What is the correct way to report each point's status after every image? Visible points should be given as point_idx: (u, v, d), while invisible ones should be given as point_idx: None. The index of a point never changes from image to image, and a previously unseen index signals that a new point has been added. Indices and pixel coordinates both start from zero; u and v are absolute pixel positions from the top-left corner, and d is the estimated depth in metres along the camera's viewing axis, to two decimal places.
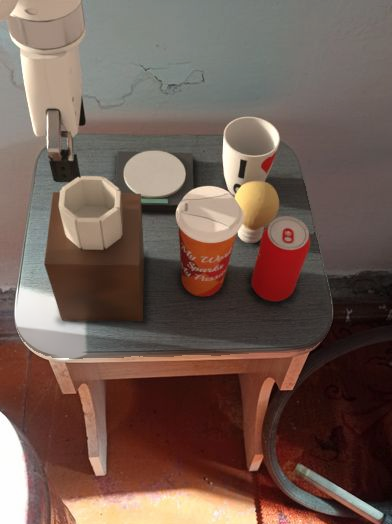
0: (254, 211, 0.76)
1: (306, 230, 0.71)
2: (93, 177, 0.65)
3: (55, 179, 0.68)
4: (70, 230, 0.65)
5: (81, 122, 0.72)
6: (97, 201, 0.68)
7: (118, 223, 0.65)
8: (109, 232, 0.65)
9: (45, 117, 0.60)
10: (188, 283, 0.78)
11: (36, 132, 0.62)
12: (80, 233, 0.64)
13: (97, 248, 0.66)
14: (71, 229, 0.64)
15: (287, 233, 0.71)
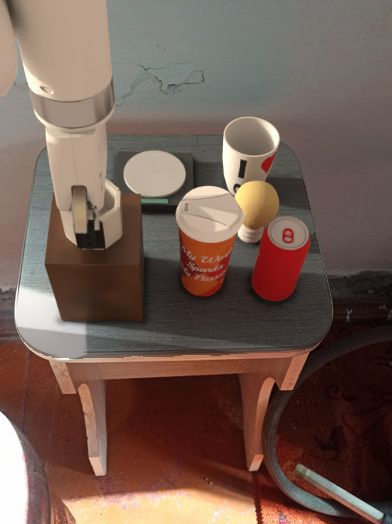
0: (254, 211, 0.76)
1: (306, 230, 0.71)
2: None
3: (79, 246, 0.65)
4: (70, 230, 0.65)
5: None
6: None
7: (118, 223, 0.65)
8: (109, 232, 0.65)
9: (70, 193, 0.56)
10: (188, 283, 0.78)
11: (60, 207, 0.57)
12: None
13: None
14: (71, 229, 0.64)
15: (287, 232, 0.71)
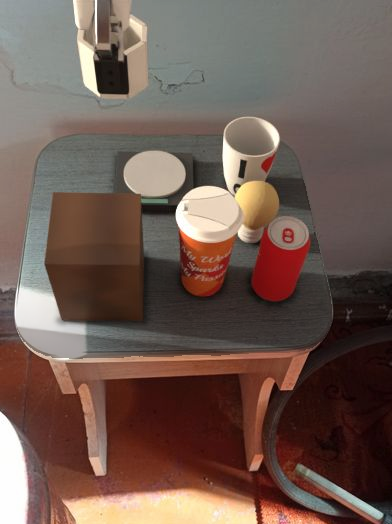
0: (254, 211, 0.76)
1: (306, 230, 0.71)
2: None
3: (99, 90, 0.57)
4: (90, 72, 0.57)
5: None
6: None
7: (144, 64, 0.57)
8: (134, 75, 0.57)
9: None
10: (188, 283, 0.78)
11: (79, 22, 0.50)
12: None
13: (120, 97, 0.58)
14: (91, 69, 0.56)
15: (287, 232, 0.71)
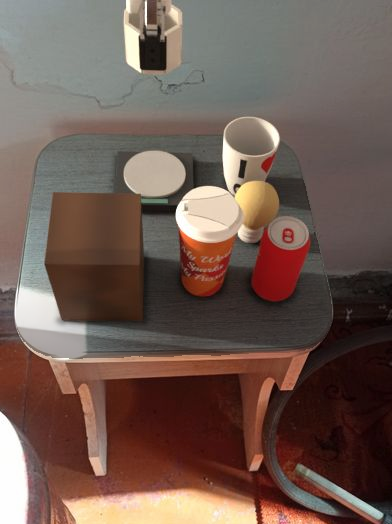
0: (254, 211, 0.76)
1: (306, 230, 0.71)
2: None
3: (141, 66, 0.67)
4: (133, 51, 0.67)
5: None
6: None
7: (179, 44, 0.67)
8: (171, 53, 0.67)
9: None
10: (188, 283, 0.78)
11: (130, 7, 0.60)
12: None
13: (158, 72, 0.68)
14: (135, 49, 0.66)
15: (287, 232, 0.71)
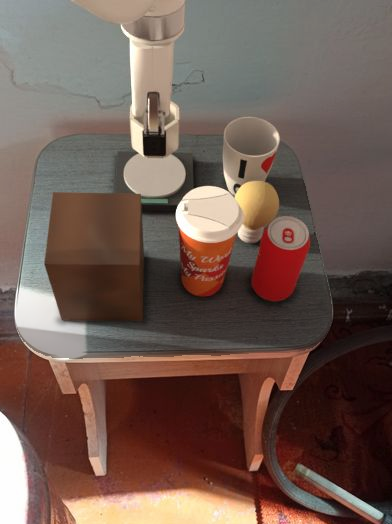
0: (254, 211, 0.76)
1: (306, 230, 0.71)
2: None
3: (145, 153, 0.79)
4: (138, 140, 0.79)
5: None
6: None
7: (177, 134, 0.79)
8: (170, 142, 0.79)
9: (146, 99, 0.70)
10: (188, 283, 0.78)
11: (135, 112, 0.71)
12: None
13: (159, 156, 0.80)
14: (139, 139, 0.78)
15: (287, 232, 0.71)
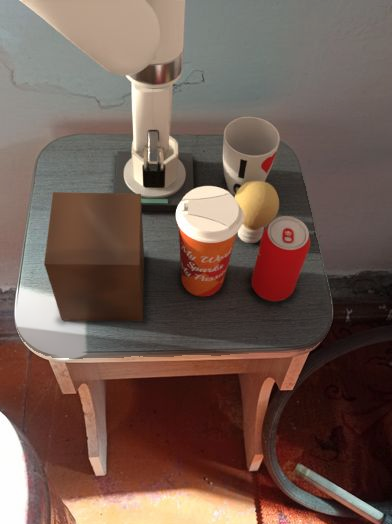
0: (254, 211, 0.76)
1: (306, 230, 0.71)
2: None
3: (144, 185, 0.83)
4: (139, 172, 0.84)
5: None
6: None
7: (175, 167, 0.84)
8: (169, 174, 0.84)
9: (146, 136, 0.75)
10: (188, 283, 0.78)
11: (136, 148, 0.77)
12: None
13: None
14: (140, 171, 0.84)
15: (287, 232, 0.71)
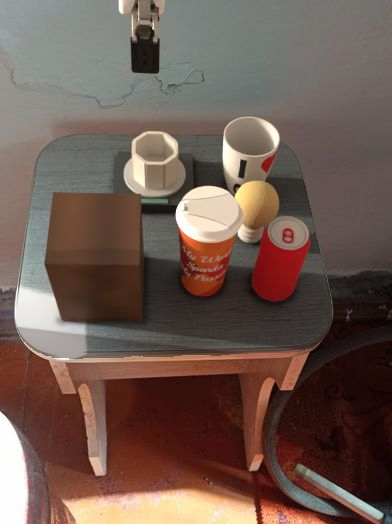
0: (254, 211, 0.76)
1: (306, 230, 0.71)
2: (156, 132, 0.84)
3: (133, 69, 0.65)
4: (139, 172, 0.84)
5: None
6: (157, 152, 0.87)
7: (175, 167, 0.84)
8: (169, 174, 0.84)
9: None
10: (188, 283, 0.78)
11: (122, 8, 0.59)
12: (147, 174, 0.83)
13: (158, 187, 0.86)
14: (140, 171, 0.84)
15: (287, 232, 0.71)
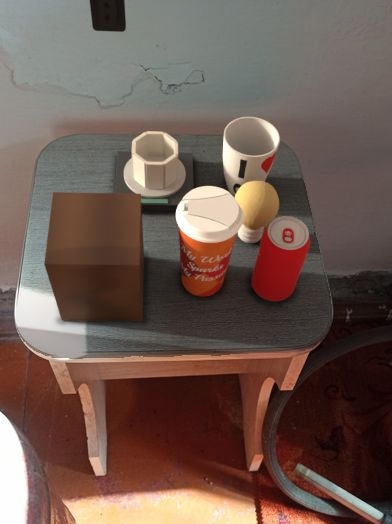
0: (254, 211, 0.76)
1: (306, 230, 0.71)
2: (156, 132, 0.84)
3: (95, 26, 0.54)
4: (139, 172, 0.84)
5: None
6: (157, 152, 0.87)
7: (175, 167, 0.84)
8: (169, 174, 0.84)
9: None
10: (188, 283, 0.78)
11: None
12: (147, 174, 0.83)
13: (158, 187, 0.86)
14: (140, 171, 0.84)
15: (287, 232, 0.71)
